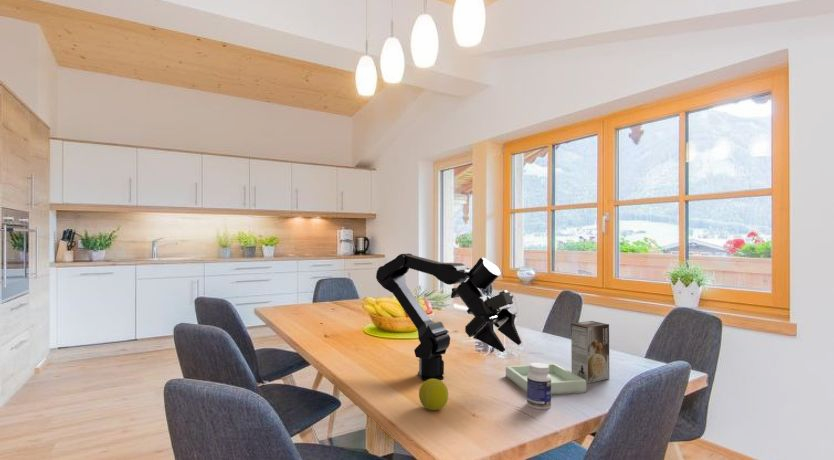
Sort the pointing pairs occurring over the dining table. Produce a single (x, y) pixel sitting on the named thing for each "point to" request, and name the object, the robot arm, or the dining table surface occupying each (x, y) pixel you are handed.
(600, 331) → the coffee box
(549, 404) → the pill bottle
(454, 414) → the dining table surface
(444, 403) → the tennis ball
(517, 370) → the tray
